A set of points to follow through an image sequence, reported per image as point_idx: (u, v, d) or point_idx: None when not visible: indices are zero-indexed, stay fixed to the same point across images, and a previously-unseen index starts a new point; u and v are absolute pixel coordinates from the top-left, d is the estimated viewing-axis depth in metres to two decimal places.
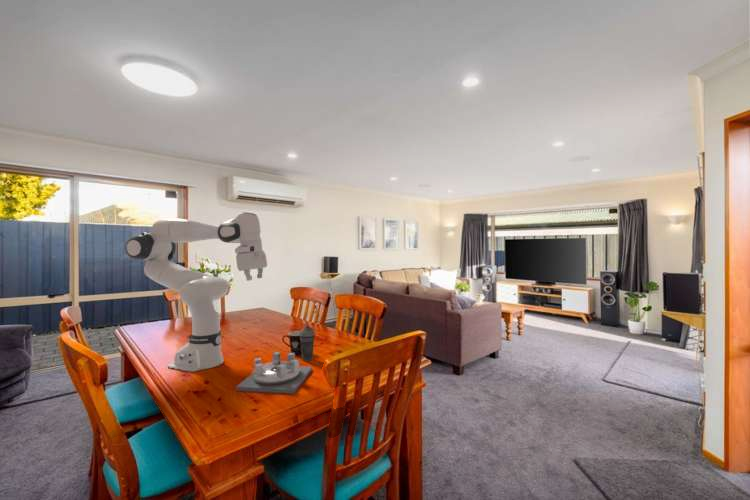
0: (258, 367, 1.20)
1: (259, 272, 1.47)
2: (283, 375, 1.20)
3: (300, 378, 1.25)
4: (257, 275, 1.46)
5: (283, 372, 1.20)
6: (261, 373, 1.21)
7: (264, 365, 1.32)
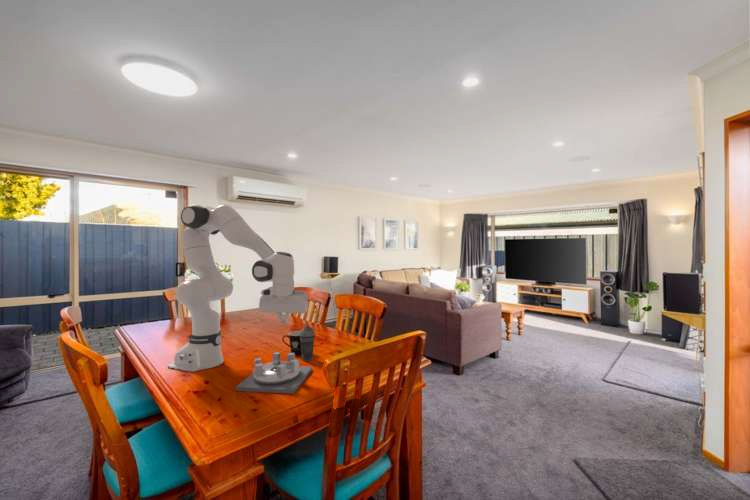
0: (258, 367, 1.20)
1: None
2: (283, 375, 1.20)
3: (300, 378, 1.25)
4: None
5: (283, 372, 1.20)
6: (261, 373, 1.21)
7: (264, 365, 1.32)
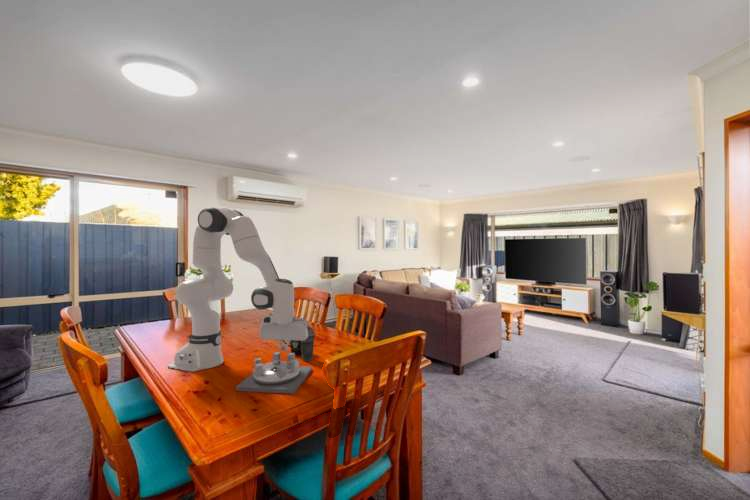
0: (258, 367, 1.20)
1: None
2: (283, 375, 1.20)
3: (300, 378, 1.25)
4: None
5: (283, 372, 1.20)
6: (261, 373, 1.21)
7: (264, 365, 1.32)
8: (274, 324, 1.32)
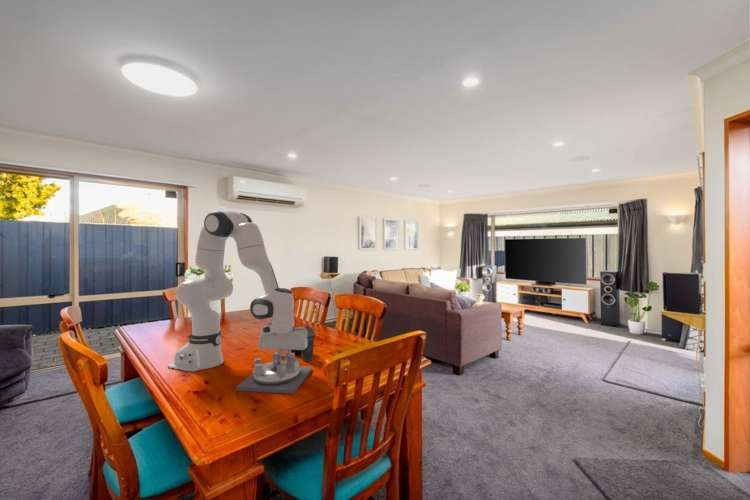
0: (258, 367, 1.20)
1: (286, 353, 1.35)
2: (283, 375, 1.20)
3: (300, 378, 1.25)
4: None
5: (283, 372, 1.20)
6: (261, 373, 1.21)
7: (264, 365, 1.32)
8: (274, 334, 1.32)
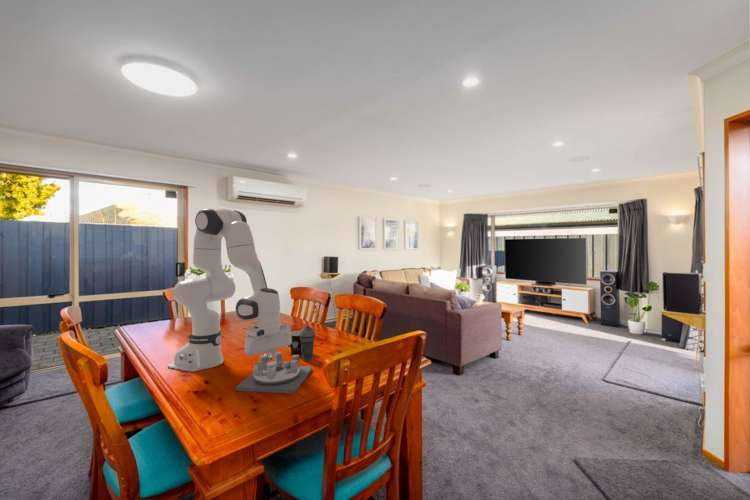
0: (273, 368, 1.19)
1: (271, 353, 1.33)
2: (297, 369, 1.26)
3: (300, 378, 1.25)
4: None
5: (296, 367, 1.25)
6: (275, 374, 1.20)
7: None
8: None
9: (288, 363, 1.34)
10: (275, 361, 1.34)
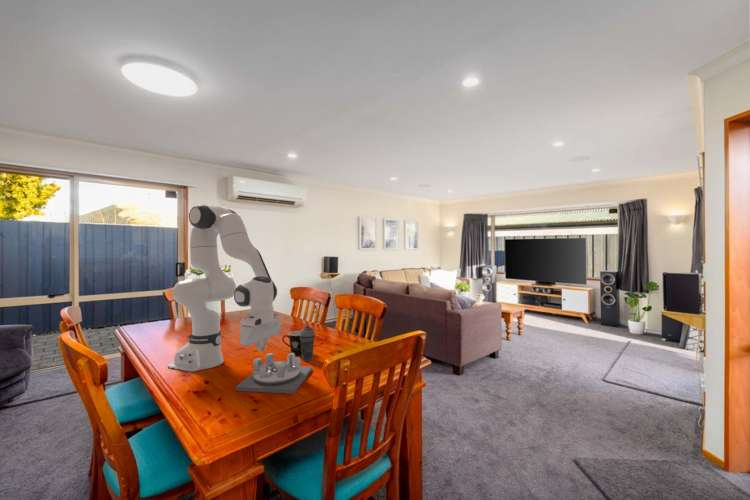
0: (284, 367, 1.21)
1: (263, 343, 1.31)
2: None
3: (300, 378, 1.25)
4: None
5: None
6: (284, 372, 1.22)
7: (257, 373, 1.23)
8: (260, 325, 1.26)
9: (281, 362, 1.34)
10: (267, 363, 1.32)
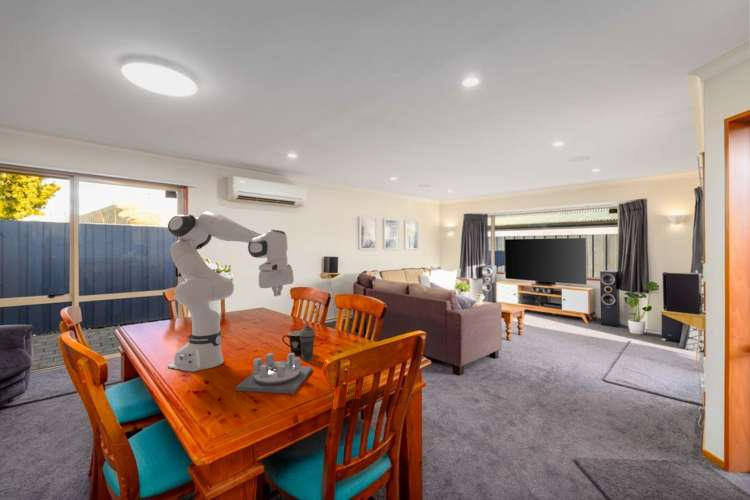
0: (284, 367, 1.21)
1: (278, 289, 1.46)
2: None
3: (300, 378, 1.25)
4: None
5: None
6: (284, 372, 1.22)
7: (257, 373, 1.23)
8: None
9: (281, 362, 1.34)
10: (267, 363, 1.32)
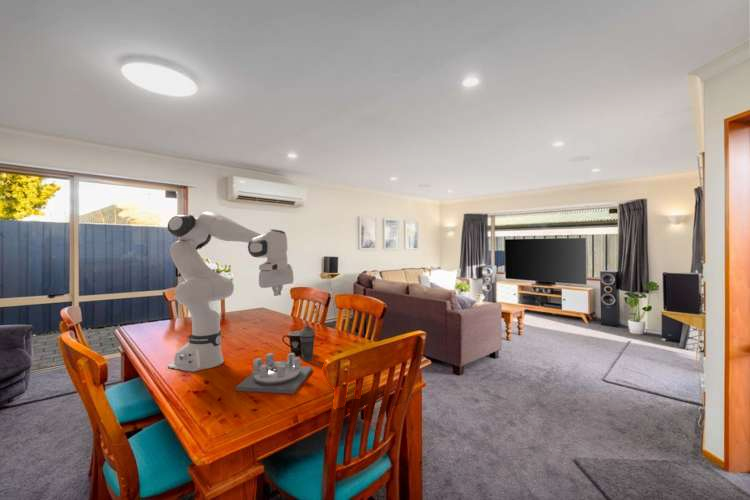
0: (284, 367, 1.21)
1: (278, 289, 1.46)
2: None
3: (300, 378, 1.25)
4: None
5: None
6: (284, 372, 1.22)
7: (257, 373, 1.23)
8: None
9: (281, 362, 1.34)
10: (267, 363, 1.32)
